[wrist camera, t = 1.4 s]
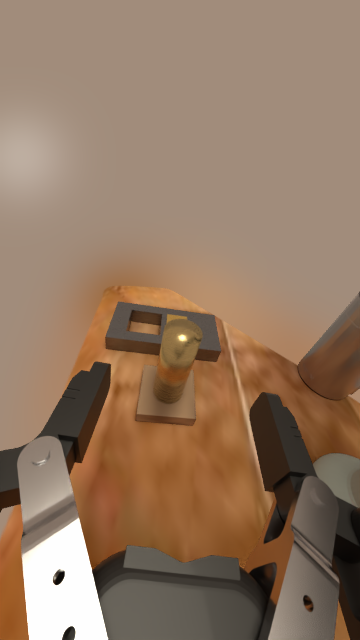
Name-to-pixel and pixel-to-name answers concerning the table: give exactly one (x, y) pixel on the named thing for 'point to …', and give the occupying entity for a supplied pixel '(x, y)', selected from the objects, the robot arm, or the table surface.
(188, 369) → the peg
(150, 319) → the rack plate
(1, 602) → the table surface
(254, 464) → the table surface
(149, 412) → the pad
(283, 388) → the table surface
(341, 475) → the air freshener
